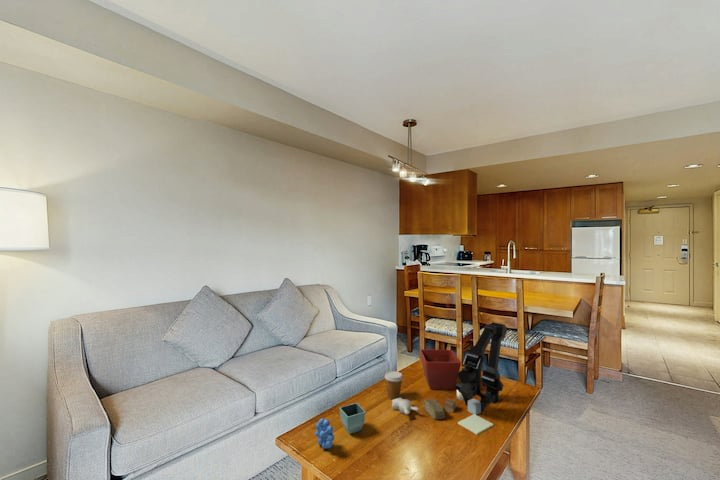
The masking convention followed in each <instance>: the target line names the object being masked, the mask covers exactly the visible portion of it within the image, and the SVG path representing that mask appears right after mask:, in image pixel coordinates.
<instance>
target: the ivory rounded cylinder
mask: <svg viewBox="0 0 720 480" xmlns="http://www.w3.org/2000/svg"><path fill="white" fill-rule="evenodd" d="M456 400H458V401H464V398H463V396H462V395H461V393H460V392H459V391H458V390H457V389H456Z"/></svg>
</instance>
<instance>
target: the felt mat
mask: <svg viewBox="0 0 720 480" xmlns="http://www.w3.org/2000/svg"><path fill="white" fill-rule="evenodd" d="M457 424H458V425H460V426H462V427H463V428H465V430H468V431H470V432H471V433H473V434H475V435H478V434H481V433H483V432H485V431H486V430H488V429H489V428H491V427H493V426H494V423H492V422H490V421H489V420H486V419H485V418H483V417H481V416H479V415H478V414H477V415H475V414H472V415H469V416H466V418H464V419H461V420H460V421H458V422H457Z"/></svg>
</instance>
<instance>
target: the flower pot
mask: <svg viewBox="0 0 720 480" xmlns="http://www.w3.org/2000/svg"><path fill="white" fill-rule="evenodd" d="M339 414H340V415H339V416H340V420H341V423H342V425H343V427H344V429H345V430H346V432H347V433H348V434H349V435H351V434H355V433H357V432H360V431H361V430H362V428H363V427H364V425H365V419H366V411H365V409H364V408H363V407H361V405H360V404H359V403H358V402H355V403H351V404H347V405H344V406H343V405H342V406H341V407H339Z"/></svg>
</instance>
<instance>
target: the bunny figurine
mask: <svg viewBox="0 0 720 480" xmlns="http://www.w3.org/2000/svg"><path fill="white" fill-rule="evenodd" d="M391 409H393V410H398V411H399V413H401V414H404V415H409V414H410V413H411V412H412V410H413V411H415V412H420V409H419V407H417V406H412V403H411V401H410V400H409V399H408V398H405V399H404V398H402V397H399V398H397V399H393V400H391ZM410 411H411V412H410Z"/></svg>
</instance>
